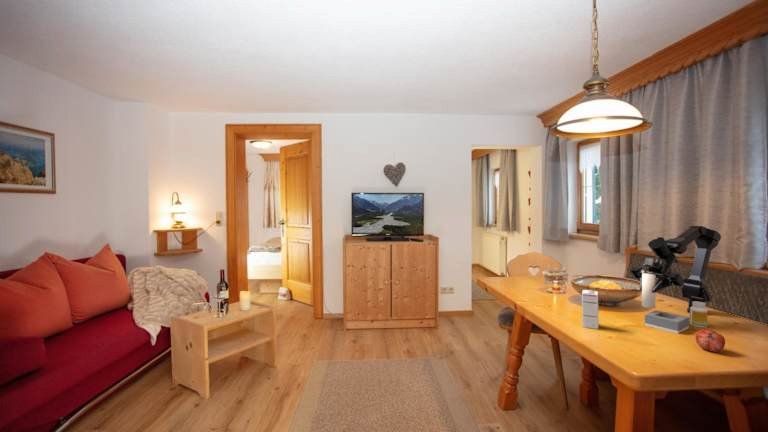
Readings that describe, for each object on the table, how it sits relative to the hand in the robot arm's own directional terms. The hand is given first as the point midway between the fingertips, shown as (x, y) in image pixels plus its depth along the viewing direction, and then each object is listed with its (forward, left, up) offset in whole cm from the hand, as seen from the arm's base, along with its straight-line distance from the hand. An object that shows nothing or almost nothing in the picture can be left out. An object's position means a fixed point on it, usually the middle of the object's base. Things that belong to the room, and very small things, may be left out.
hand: (646, 290), depth 144 cm
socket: (+2, +7, -13) cm, 15 cm away
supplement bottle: (-8, +17, -14) cm, 23 cm away
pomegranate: (+21, +19, -14) cm, 31 cm away
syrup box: (+21, -17, -14) cm, 30 cm away
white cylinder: (-1, +1, -7) cm, 7 cm away
